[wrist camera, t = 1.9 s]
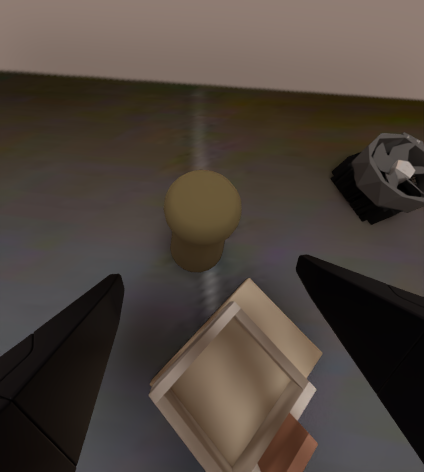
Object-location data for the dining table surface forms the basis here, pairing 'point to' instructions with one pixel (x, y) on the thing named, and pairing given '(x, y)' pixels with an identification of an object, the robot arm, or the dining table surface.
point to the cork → (201, 218)
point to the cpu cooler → (384, 177)
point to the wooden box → (241, 388)
